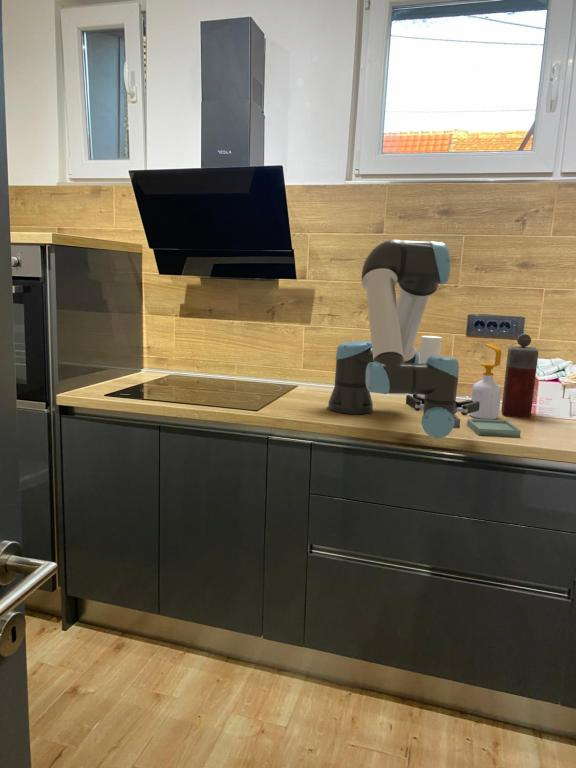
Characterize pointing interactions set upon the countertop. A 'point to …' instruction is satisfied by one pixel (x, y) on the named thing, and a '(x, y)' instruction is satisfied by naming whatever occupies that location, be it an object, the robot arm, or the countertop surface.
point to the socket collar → (456, 422)
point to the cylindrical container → (429, 349)
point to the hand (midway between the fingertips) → (443, 398)
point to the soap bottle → (487, 391)
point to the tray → (493, 427)
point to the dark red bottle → (520, 379)
